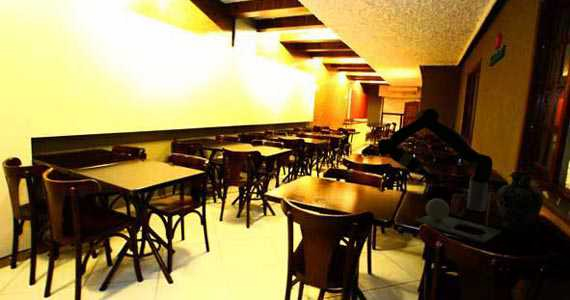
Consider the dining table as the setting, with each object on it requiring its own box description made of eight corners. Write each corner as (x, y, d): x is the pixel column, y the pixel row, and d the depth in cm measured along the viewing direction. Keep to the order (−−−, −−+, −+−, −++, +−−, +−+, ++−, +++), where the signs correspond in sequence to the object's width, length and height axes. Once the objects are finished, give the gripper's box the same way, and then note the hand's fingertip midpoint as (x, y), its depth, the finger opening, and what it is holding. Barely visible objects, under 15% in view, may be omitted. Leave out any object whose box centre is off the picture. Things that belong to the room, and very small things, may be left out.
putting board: (414, 222, 163) (418, 186, 160) (434, 214, 177) (438, 181, 174) (483, 243, 138) (489, 201, 136) (501, 232, 152) (506, 194, 150)
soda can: (466, 218, 172) (468, 196, 171) (452, 216, 174) (454, 195, 172) (461, 214, 179) (464, 193, 178) (448, 212, 180) (450, 192, 179)
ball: (439, 215, 171) (441, 196, 170) (453, 223, 161) (455, 202, 159) (420, 216, 170) (422, 196, 168) (433, 223, 159) (435, 202, 157)
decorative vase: (542, 238, 147) (549, 179, 143) (494, 230, 156) (500, 174, 153) (535, 225, 165) (542, 172, 161) (493, 218, 174) (498, 168, 171)
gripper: (410, 156, 164) (439, 173, 156) (416, 156, 176) (444, 172, 168) (402, 168, 166) (431, 186, 158) (409, 168, 178) (436, 184, 170)
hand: (438, 179), depth 163 cm, fingers open, 8 cm apart
